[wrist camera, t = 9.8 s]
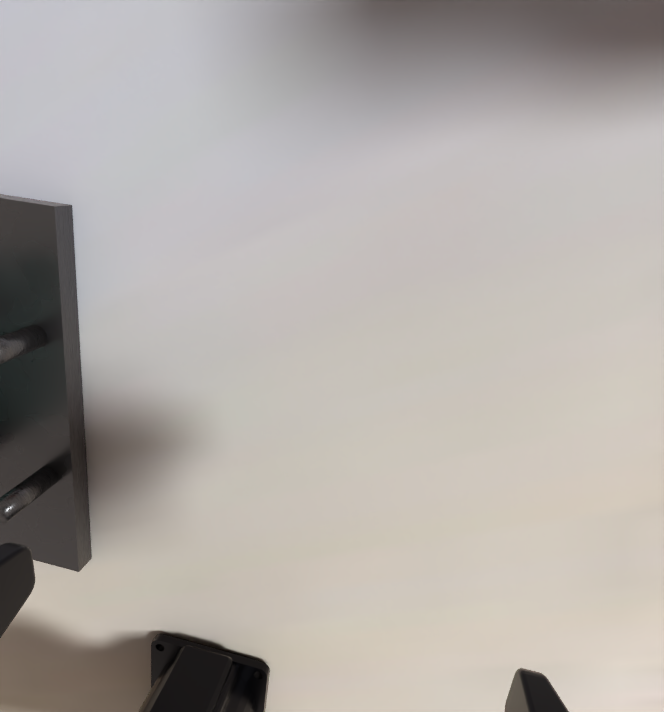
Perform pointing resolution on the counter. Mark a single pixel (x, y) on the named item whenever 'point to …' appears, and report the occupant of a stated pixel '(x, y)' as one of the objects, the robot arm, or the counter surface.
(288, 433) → the counter surface
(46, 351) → the dish rack
